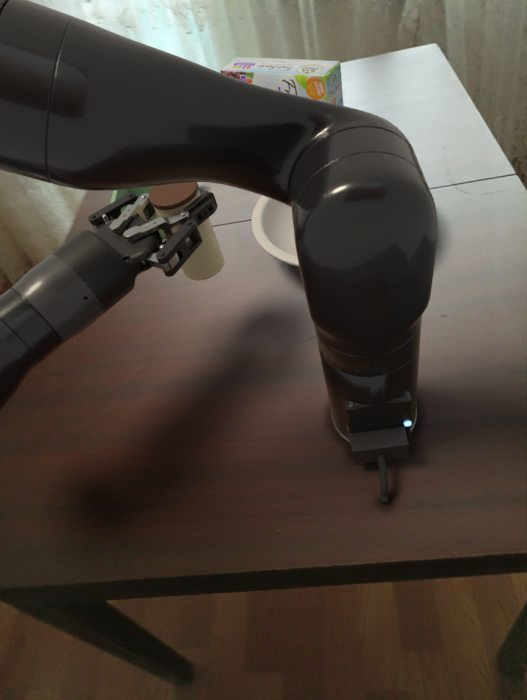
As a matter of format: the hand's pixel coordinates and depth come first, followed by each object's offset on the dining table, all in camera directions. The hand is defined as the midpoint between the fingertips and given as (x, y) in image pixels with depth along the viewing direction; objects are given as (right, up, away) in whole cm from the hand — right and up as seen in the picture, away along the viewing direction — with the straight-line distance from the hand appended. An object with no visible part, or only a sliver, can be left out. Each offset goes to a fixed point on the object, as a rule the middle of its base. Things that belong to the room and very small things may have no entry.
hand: (195, 191), depth 55 cm
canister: (0, -7, +6) cm, 9 cm away
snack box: (+13, +20, +39) cm, 46 cm away
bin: (-11, +6, +34) cm, 36 cm away
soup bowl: (+19, -1, +20) cm, 28 cm away
